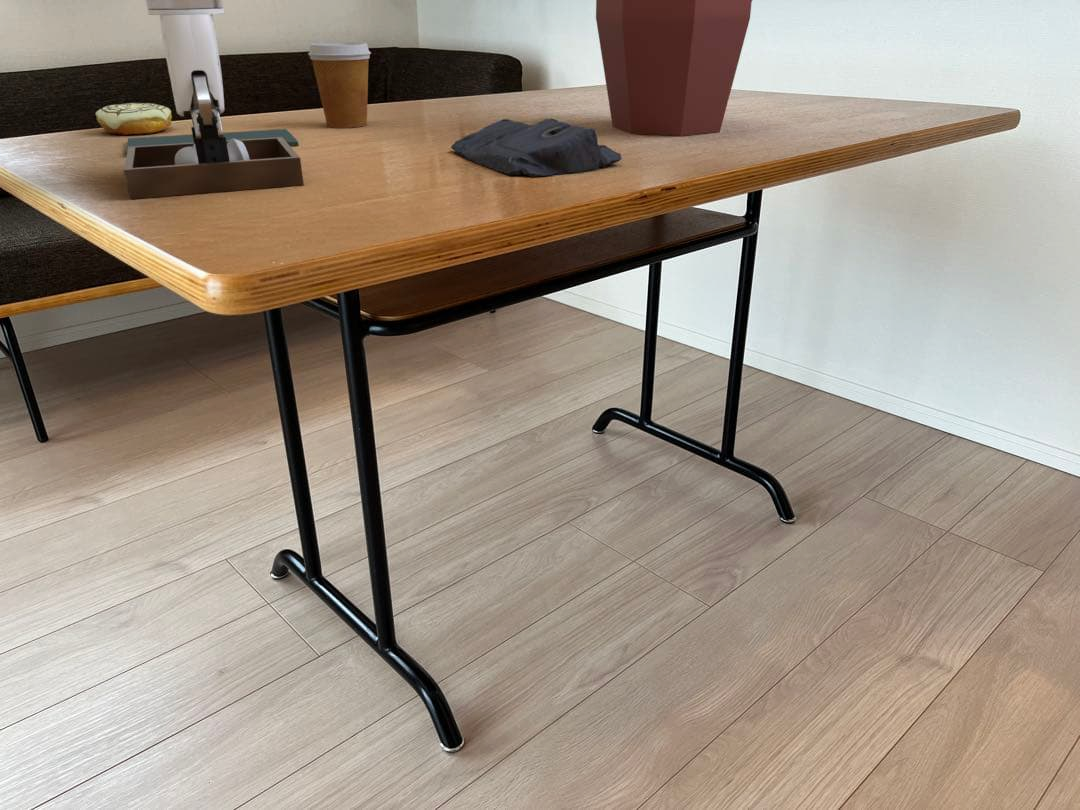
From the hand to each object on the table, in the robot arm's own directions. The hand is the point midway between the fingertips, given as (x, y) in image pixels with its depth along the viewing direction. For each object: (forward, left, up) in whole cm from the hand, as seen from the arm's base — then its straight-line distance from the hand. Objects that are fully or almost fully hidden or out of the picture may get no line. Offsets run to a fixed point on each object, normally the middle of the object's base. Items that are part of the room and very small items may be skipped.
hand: (214, 167), depth 95 cm
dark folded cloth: (+38, -3, -1) cm, 38 cm away
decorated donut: (-9, +44, -1) cm, 45 cm away
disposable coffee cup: (+22, +37, -1) cm, 43 cm away
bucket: (+67, +13, -1) cm, 68 cm away
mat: (+1, +26, -1) cm, 26 cm away
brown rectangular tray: (0, 0, -1) cm, 1 cm away
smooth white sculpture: (0, 0, -1) cm, 1 cm away
